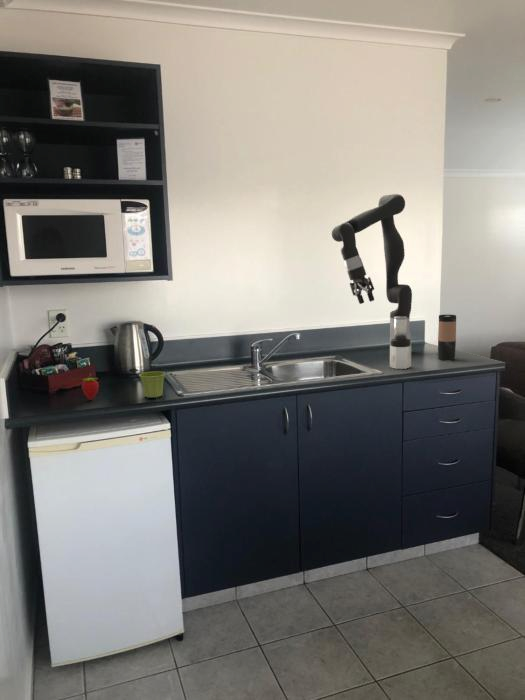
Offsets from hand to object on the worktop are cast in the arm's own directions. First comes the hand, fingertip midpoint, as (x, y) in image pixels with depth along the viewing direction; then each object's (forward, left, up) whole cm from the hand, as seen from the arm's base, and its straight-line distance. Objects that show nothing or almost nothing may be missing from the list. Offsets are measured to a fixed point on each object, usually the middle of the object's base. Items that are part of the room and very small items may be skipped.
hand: (367, 302), depth 250 cm
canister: (-6, +17, -16) cm, 23 cm away
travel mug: (-33, +14, -27) cm, 45 cm away
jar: (-5, +17, -27) cm, 33 cm away
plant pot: (+101, +12, -27) cm, 105 cm away
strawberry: (+122, +5, -27) cm, 125 cm away
